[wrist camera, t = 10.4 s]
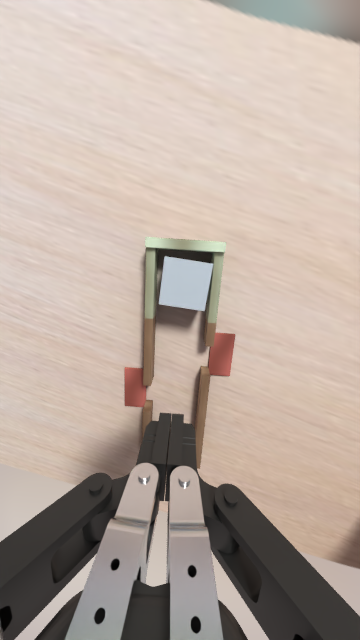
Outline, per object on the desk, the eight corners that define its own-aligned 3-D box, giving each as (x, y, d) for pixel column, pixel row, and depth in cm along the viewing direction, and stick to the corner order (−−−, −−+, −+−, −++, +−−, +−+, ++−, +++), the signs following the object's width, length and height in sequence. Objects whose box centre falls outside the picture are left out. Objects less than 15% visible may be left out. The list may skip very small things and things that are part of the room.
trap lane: (246, 246, 25) (254, 243, 22) (217, 455, 33) (220, 473, 31) (124, 238, 25) (117, 234, 23) (125, 448, 34) (119, 465, 31)
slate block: (208, 263, 26) (213, 263, 22) (201, 303, 27) (204, 311, 23) (168, 257, 26) (164, 256, 22) (163, 297, 27) (158, 304, 23)
